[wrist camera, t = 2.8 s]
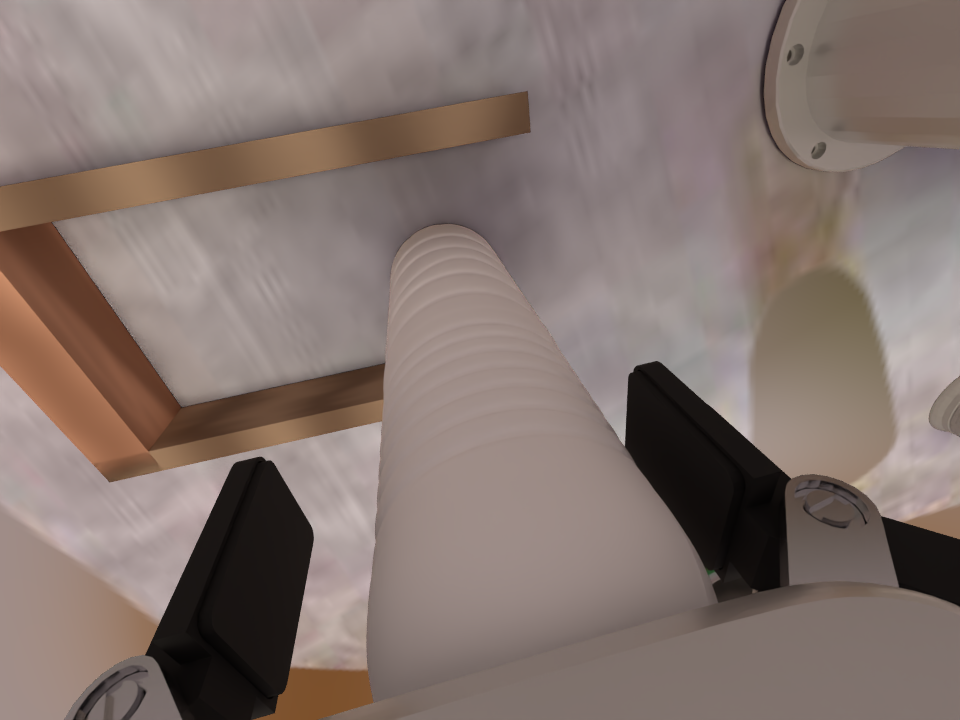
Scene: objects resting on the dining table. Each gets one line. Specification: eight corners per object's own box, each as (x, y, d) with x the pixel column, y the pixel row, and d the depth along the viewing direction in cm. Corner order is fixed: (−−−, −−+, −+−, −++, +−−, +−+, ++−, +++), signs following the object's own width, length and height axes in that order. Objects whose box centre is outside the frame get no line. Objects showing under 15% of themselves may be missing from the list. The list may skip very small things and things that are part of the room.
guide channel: (506, 95, 20) (527, 91, 17) (531, 351, 28) (549, 383, 25) (-45, 195, 19) (-144, 212, 15) (146, 435, 27) (109, 482, 23)
